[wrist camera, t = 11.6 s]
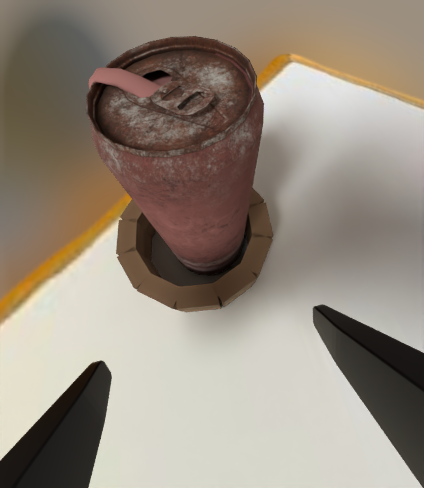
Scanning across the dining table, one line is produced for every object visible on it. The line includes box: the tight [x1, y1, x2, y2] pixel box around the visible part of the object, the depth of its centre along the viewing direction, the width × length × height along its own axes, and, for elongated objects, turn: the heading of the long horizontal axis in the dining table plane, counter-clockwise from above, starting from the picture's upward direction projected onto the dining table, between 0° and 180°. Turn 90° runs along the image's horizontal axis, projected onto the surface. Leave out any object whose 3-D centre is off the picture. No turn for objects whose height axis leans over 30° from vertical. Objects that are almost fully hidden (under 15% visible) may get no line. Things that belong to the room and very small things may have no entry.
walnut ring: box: [116, 188, 273, 312], centre depth 18 cm, size 12×12×4 cm
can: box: [86, 36, 264, 275], centre depth 13 cm, size 6×6×14 cm
